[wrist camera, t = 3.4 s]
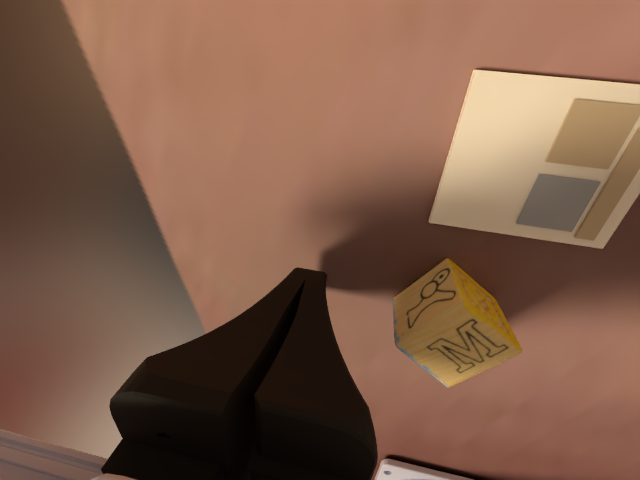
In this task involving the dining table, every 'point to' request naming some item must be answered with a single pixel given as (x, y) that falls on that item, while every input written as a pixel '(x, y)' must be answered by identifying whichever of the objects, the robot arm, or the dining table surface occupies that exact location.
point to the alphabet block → (452, 325)
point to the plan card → (542, 158)
